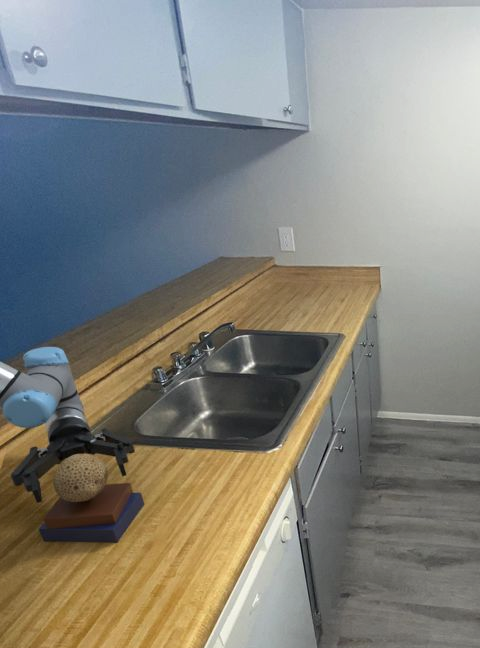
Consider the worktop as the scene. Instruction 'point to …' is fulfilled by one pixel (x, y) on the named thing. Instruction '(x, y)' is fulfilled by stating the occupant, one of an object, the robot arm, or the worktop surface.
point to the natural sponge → (80, 478)
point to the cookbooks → (93, 516)
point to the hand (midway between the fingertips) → (81, 482)
